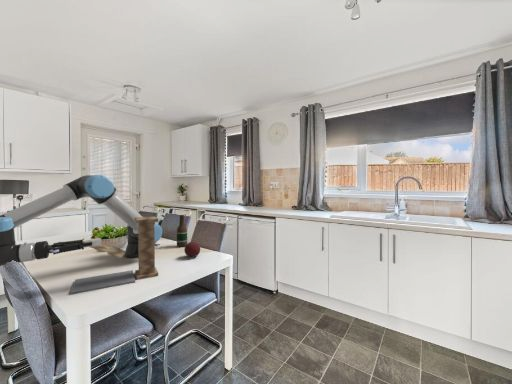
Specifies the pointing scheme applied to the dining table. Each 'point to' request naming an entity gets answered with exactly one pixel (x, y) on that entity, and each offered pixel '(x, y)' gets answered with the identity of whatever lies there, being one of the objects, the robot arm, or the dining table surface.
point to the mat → (102, 281)
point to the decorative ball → (192, 249)
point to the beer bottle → (181, 233)
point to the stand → (146, 247)
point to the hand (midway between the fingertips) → (100, 241)
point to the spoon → (110, 250)
